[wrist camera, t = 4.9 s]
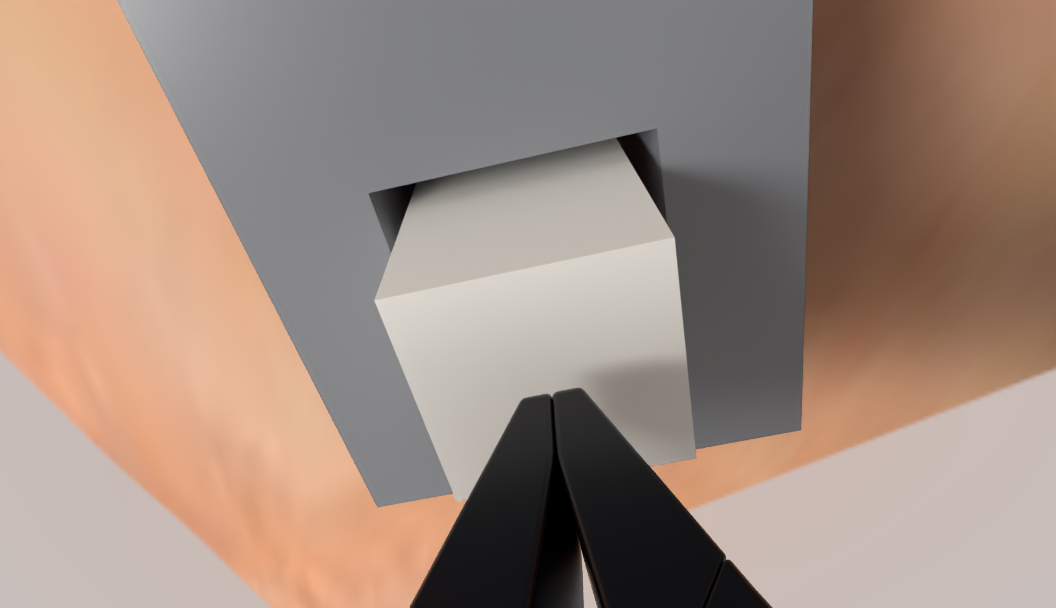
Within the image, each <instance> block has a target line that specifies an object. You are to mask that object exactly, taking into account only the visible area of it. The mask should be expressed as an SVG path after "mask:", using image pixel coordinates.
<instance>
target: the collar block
mask: <svg viewBox="0 0 1056 608" xmlns="http://www.w3.org/2000/svg"><path fill="white" fill-rule="evenodd" d="M117 1H118V3H119V5H120V7H121V9H122V11H123V13H124V15H125V17H126V19H127V21H128V23H129V25H130V27H131V29H132V31H133V33H134V35H135V36H136V38H137V40H138V42H139V44H140V46H141V48H142V50H143V52H144V54H145V56H146V58H147V60H148V62H149V64H150V66H151V68H152V70H153V72H154V73H155V75H156V77H157V79H158V81H159V83H160V85H161V87H162V89H163V91H164V93H165V95H166V97H167V99H168V101H169V103H170V105H171V107H172V108H173V110H174V112H175V114H176V116H177V118H178V120H179V122H180V124H181V126H182V128H183V130H184V132H185V134H186V136H187V138H188V140H189V142H190V143H191V145H192V147H193V149H194V151H195V153H196V155H197V157H198V159H199V161H200V163H201V165H202V167H203V169H204V171H205V173H206V175H207V177H208V179H209V180H210V182H211V184H212V186H213V188H214V190H215V192H216V194H217V196H218V198H219V200H220V202H221V204H222V206H223V208H224V210H225V212H226V214H227V215H228V217H229V219H230V221H231V223H232V225H233V227H234V229H235V231H236V233H237V235H238V237H239V239H240V241H241V243H242V245H243V247H244V249H245V251H246V252H247V254H248V256H249V258H250V260H251V262H252V264H253V266H254V268H255V270H256V272H257V274H258V276H259V278H260V280H261V282H262V284H263V286H264V287H265V289H266V291H267V293H268V295H269V297H270V299H271V301H272V303H273V305H274V307H275V309H276V311H277V313H278V315H279V317H280V319H281V321H282V322H283V324H284V326H285V328H286V330H287V332H288V334H289V336H290V338H291V340H292V342H293V344H294V346H295V348H296V350H297V352H298V354H299V356H300V358H301V359H302V361H303V363H304V365H305V367H306V369H307V371H308V373H309V375H310V377H311V379H312V381H313V383H314V385H315V387H316V389H317V391H318V393H319V394H320V396H321V398H322V400H323V402H324V404H325V406H326V408H327V410H328V412H329V414H330V416H331V418H332V420H333V422H334V424H335V426H336V428H337V430H338V431H339V433H340V435H341V437H342V439H343V441H344V443H345V445H346V447H347V449H348V451H349V453H350V455H351V457H352V459H353V461H354V463H355V465H356V466H357V468H358V470H359V472H360V474H361V476H362V478H363V480H364V482H365V484H366V486H367V488H368V490H369V492H370V494H371V496H372V498H373V500H374V501H375V503H376V505H377V507H382V506H387V505H393V504H398V503H404V502H409V501H415V500H420V499H426V498H431V497H437V496H442V495H448V494H453V492H452V489H451V487H450V484H449V482H448V480H447V477H446V475H445V472H444V470H443V467H442V465H441V462H440V460H439V458H438V455H437V453H436V450H435V448H434V445H433V443H432V440H431V438H430V436H429V433H428V431H427V428H426V426H425V423H424V421H423V418H422V416H421V414H420V411H419V409H418V406H417V404H416V401H415V399H414V396H413V394H412V392H411V389H410V387H409V384H408V382H407V379H406V377H405V374H404V372H403V370H402V367H401V365H400V362H399V360H398V357H397V355H396V353H395V350H394V348H393V345H392V343H391V340H390V338H389V335H388V333H387V331H386V328H385V326H384V323H383V321H382V318H381V316H380V313H379V311H378V309H377V306H376V304H375V301H374V300H375V297H376V294H377V291H378V289H379V286H380V283H381V280H382V278H383V275H384V272H385V269H386V266H387V264H388V261H389V258H390V255H391V252H392V250H393V247H394V244H395V241H396V239H397V236H398V233H399V230H400V227H401V225H402V222H403V219H404V216H405V213H406V211H407V208H408V205H409V202H410V200H411V197H412V194H413V191H414V188H415V186H416V183H417V182H421V181H425V180H430V179H434V178H438V177H443V176H447V175H452V174H456V173H461V172H465V171H470V170H474V169H478V168H483V167H487V166H492V165H496V164H501V163H505V162H510V161H514V160H518V159H523V158H527V157H532V156H536V155H541V154H545V153H549V152H554V151H558V150H563V149H567V148H572V147H576V146H581V145H585V144H589V143H594V142H598V141H603V140H607V139H612V138H616V137H619V139H620V146H621V147H622V149H623V151H624V152H625V154H626V156H627V158H628V159H629V161H630V163H631V164H632V166H633V168H634V169H635V171H636V173H637V175H638V176H639V178H640V180H641V181H642V183H643V185H644V186H645V188H646V190H647V191H648V193H649V195H650V197H651V198H652V200H653V202H654V203H655V205H656V207H657V208H658V210H659V212H660V213H661V215H662V217H663V219H664V220H665V222H666V224H667V225H668V227H669V229H670V230H671V232H672V234H673V235H674V237H675V246H676V256H677V267H678V277H679V287H680V297H681V307H682V317H683V328H684V338H685V348H686V358H687V368H688V378H689V389H690V399H691V409H692V419H693V429H694V440H695V449H700V448H706V447H711V446H716V445H722V444H727V443H733V442H738V441H744V440H749V439H755V438H760V437H766V436H771V435H777V434H782V433H788V432H793V431H799V430H801V419H802V382H803V346H804V309H805V273H806V236H807V200H808V164H809V127H810V91H811V54H812V18H813V0H117Z"/></svg>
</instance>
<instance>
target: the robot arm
mask: <svg viewBox="0 0 1056 608" xmlns="http://www.w3.org/2000/svg"><path fill="white" fill-rule="evenodd" d="M580 546H581V548H580ZM581 550H582V554H583V557H584V561H585V565H586V569H587V572H588V576H589V580H590V583H591V587H592V590H593V594H594V597H595V601H596V604H597V608H772V607H771V606H770V605H769V603H768V602H767V601H766V600H765V599H764V598H763V597H762V596H761V595H760V594H759V593H758V591H757V590H756V589H755V588H754V587H753V586H752V585H751V583H750V582H749V581H748V580H747V579H746V578H745V576H744V575H743V574H742V573H741V572H740V571H739V570H738V569H737V567H736V566H735V565H734V564H733V562H731V561H730V560H726V556H725V554H724V553H723V551H722V550H721V549H720V548H719V547H718V546H717V544H716V543H715V542H714V541H713V540H712V539H711V537H710V536H709V535H708V534H707V533H706V532H705V530H704V529H703V528H702V527H701V526H700V525H699V523H698V522H697V521H696V520H695V519H694V518H693V516H692V515H691V514H690V513H689V512H688V511H687V509H686V508H685V507H684V506H683V505H682V504H681V502H680V501H679V500H678V499H677V498H676V497H675V495H674V494H673V493H672V492H671V491H670V490H669V488H668V487H667V486H666V485H665V484H664V483H663V481H662V480H661V479H660V478H659V477H658V476H657V474H656V473H655V472H654V471H653V470H652V469H651V467H650V466H649V465H648V464H647V463H646V462H645V460H644V459H643V458H642V457H641V456H640V455H639V453H638V452H637V451H636V450H635V449H634V448H633V446H632V445H631V444H630V443H629V442H628V441H627V439H626V438H625V437H624V436H623V435H622V434H621V432H620V431H619V430H618V429H617V428H616V427H615V425H614V424H613V423H612V422H611V421H610V420H609V418H608V417H607V416H606V415H605V414H604V413H603V411H602V410H601V409H600V408H599V407H598V406H597V404H596V403H595V402H594V401H593V400H592V399H591V397H590V396H589V395H588V394H587V393H586V392H585V390H583V389H582V388H572V389H567V390H562V391H557V392H555V393H554V394H553V397H552V396H551V395H550V394H541V395H536V396H530V397H526V398H523V399H522V400H521V401H520V402H519V404H518V406H517V408H516V410H515V412H514V414H513V415H512V417H511V419H510V421H509V423H508V425H507V427H506V428H505V430H504V432H503V434H502V436H501V438H500V440H499V441H498V443H497V445H496V447H495V449H494V451H493V453H492V455H491V456H490V458H489V460H488V462H487V464H486V466H485V468H484V469H483V471H482V473H481V475H480V477H479V479H478V481H477V482H476V484H475V486H474V488H473V490H472V492H471V494H470V496H469V497H468V499H467V501H466V503H465V505H464V507H463V509H462V510H461V512H460V514H459V516H458V518H457V520H456V522H455V523H454V525H453V527H452V529H451V531H450V533H449V535H448V536H447V538H446V540H445V542H444V544H443V546H442V548H441V550H440V551H439V553H438V555H437V557H436V559H435V561H434V563H433V564H432V566H431V568H430V570H429V572H428V574H427V576H426V577H425V579H424V581H423V583H422V585H421V587H420V589H419V591H418V592H417V594H416V596H415V598H414V600H413V602H412V604H411V605H410V608H584V600H583V572H582V556H581Z"/></svg>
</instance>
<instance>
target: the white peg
mask: <svg viewBox="0 0 1056 608" xmlns="http://www.w3.org/2000/svg"><path fill="white" fill-rule="evenodd" d="M374 301H375V304H376V306H377V309H378V311H379V313H380V316H381V318H382V321H383V323H384V326H385V328H386V331H387V333H388V335H389V338H390V340H391V343H392V345H393V348H394V350H395V353H396V355H397V357H398V360H399V362H400V365H401V367H402V370H403V372H404V374H405V377H406V379H407V382H408V384H409V387H410V389H411V392H412V394H413V396H414V399H415V401H416V404H417V406H418V409H419V411H420V414H421V416H422V418H423V421H424V423H425V426H426V428H427V431H428V433H429V436H430V438H431V440H432V443H433V445H434V448H435V450H436V453H437V455H438V458H439V460H440V462H441V465H442V467H443V470H444V472H445V475H446V477H447V480H448V482H449V484H450V487H451V489H452V492H453V494H454V497H455V499H456V501H463V500H467V499H468V497H469V496H470V494H471V492H472V490H473V488H474V486H475V484H476V482H477V481H478V479H479V477H480V475H481V473H482V471H483V469H484V468H485V466H486V464H487V462H488V460H489V458H490V456H491V455H492V453H493V451H494V449H495V447H496V445H497V443H498V441H499V440H500V438H501V436H502V434H503V432H504V430H505V428H506V427H507V425H508V423H509V421H510V419H511V417H512V415H513V414H514V412H515V410H516V408H517V406H518V404H519V402H520V401H521V400H522V399H523V398H526V397H530V396H536V395H541V394H550V395H551V396H552V397H553V394H554V393H555V392H557V391H562V390H567V389H572V388H582V389H583V390H585V392H586V393H587V394H588V395H589V396H590V397H591V399H592V400H593V401H594V402H595V403H596V404H597V406H598V407H599V408H600V409H601V410H602V411H603V413H604V414H605V415H606V416H607V417H608V418H609V420H610V421H611V422H612V423H613V424H614V425H615V427H616V428H617V429H618V430H619V431H620V432H621V434H622V435H623V436H624V437H625V438H626V439H627V441H628V442H629V443H630V444H631V445H632V446H633V448H634V449H635V450H636V451H637V452H638V453H639V455H640V456H641V457H642V458H643V459H644V460H645V462H646V463H647V464H648V465H649V466H656V465H662V464H667V463H673V462H678V461H684V460H689V459H695V458H696V450H695V440H694V429H693V419H692V409H691V399H690V389H689V378H688V368H687V358H686V348H685V338H684V328H683V317H682V307H681V297H680V287H679V277H678V267H677V256H676V246H675V237H674V235H673V234H672V232H671V230H670V229H669V227H668V225H667V224H666V222H665V220H664V219H663V217H662V215H661V213H660V212H659V210H658V208H657V207H656V205H655V203H654V202H653V200H652V198H651V197H650V195H649V193H648V191H647V190H646V188H645V186H644V185H643V183H642V181H641V180H640V178H639V176H638V175H637V173H636V171H635V169H634V168H633V166H632V164H631V163H630V161H629V159H628V158H627V156H626V154H625V152H624V151H623V149H622V147H621V146H620V144H619V142H618V141H617V139H616V138H612V139H607V140H603V141H598V142H594V143H589V144H585V145H581V146H576V147H572V148H567V149H563V150H558V151H554V152H549V153H545V154H541V155H536V156H532V157H527V158H523V159H518V160H514V161H510V162H505V163H501V164H496V165H492V166H487V167H483V168H478V169H474V170H470V171H465V172H461V173H456V174H452V175H447V176H443V177H438V178H434V179H430V180H425V181H421V182H417V183H416V186H415V188H414V191H413V194H412V197H411V200H410V202H409V205H408V208H407V211H406V213H405V216H404V219H403V222H402V225H401V227H400V230H399V233H398V236H397V239H396V241H395V244H394V247H393V250H392V252H391V255H390V258H389V261H388V264H387V266H386V269H385V272H384V275H383V278H382V280H381V283H380V286H379V289H378V291H377V294H376V297H375V300H374Z"/></svg>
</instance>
